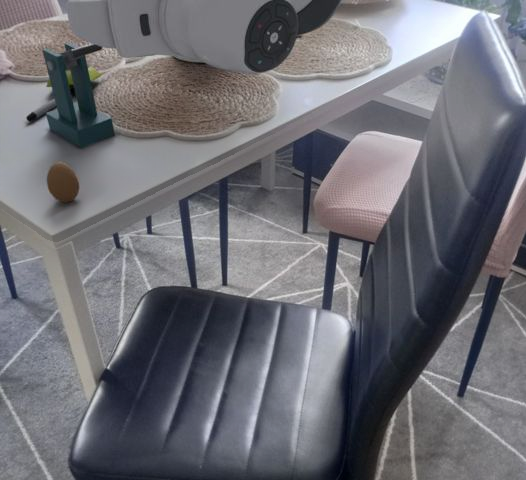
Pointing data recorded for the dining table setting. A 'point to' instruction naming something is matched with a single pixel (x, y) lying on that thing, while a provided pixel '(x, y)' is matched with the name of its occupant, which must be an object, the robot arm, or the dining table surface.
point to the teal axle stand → (75, 114)
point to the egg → (62, 182)
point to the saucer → (92, 74)
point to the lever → (77, 54)
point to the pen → (45, 108)
